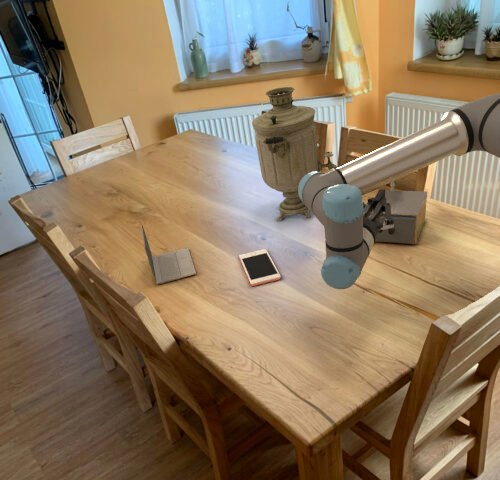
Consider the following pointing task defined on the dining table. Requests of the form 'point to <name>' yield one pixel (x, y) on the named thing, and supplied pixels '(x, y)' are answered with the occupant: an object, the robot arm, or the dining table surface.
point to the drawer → (399, 230)
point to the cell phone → (259, 267)
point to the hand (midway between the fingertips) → (382, 194)
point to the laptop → (169, 263)
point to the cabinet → (408, 207)
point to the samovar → (287, 148)
